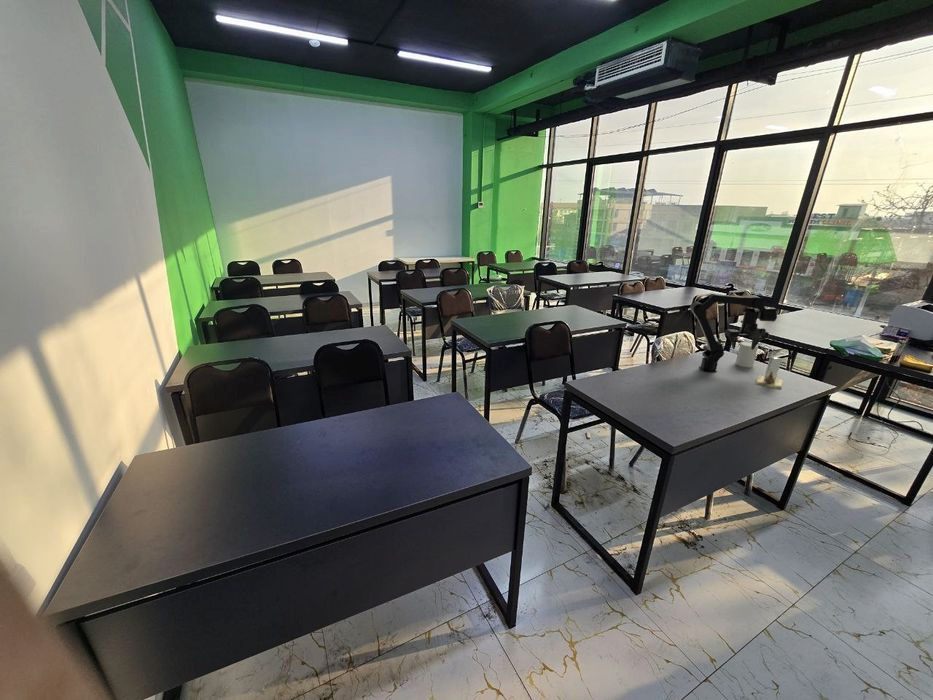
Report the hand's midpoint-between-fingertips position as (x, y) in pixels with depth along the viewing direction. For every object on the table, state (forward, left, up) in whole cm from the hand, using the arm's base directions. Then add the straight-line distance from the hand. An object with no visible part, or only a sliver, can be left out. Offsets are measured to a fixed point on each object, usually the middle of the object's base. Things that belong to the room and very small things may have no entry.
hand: (742, 349), depth 206 cm
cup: (+10, +12, -13) cm, 21 cm away
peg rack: (+8, -13, -13) cm, 20 cm away
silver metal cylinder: (+8, -13, -12) cm, 19 cm away
